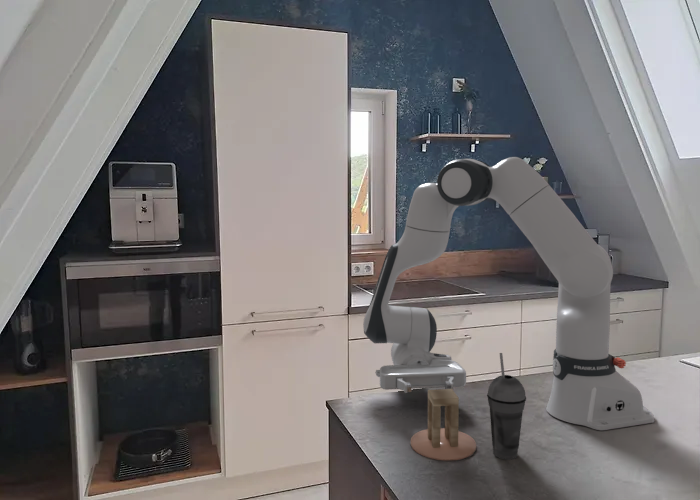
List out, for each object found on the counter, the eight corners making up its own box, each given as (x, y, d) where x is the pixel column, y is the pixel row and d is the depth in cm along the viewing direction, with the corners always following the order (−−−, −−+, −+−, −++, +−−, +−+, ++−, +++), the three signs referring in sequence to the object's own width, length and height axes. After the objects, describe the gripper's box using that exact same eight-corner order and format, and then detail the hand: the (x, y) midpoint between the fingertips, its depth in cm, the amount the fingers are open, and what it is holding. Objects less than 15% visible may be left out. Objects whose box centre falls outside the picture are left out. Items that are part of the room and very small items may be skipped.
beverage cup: (527, 464, 102) (529, 360, 100) (486, 461, 103) (488, 358, 101) (522, 446, 109) (525, 349, 107) (485, 443, 110) (486, 347, 108)
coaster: (464, 429, 117) (465, 426, 117) (485, 458, 104) (485, 455, 104) (405, 432, 116) (405, 429, 116) (418, 462, 103) (418, 459, 103)
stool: (451, 435, 113) (451, 388, 112) (458, 446, 108) (458, 397, 107) (427, 436, 112) (427, 389, 111) (433, 448, 107) (433, 398, 106)
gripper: (374, 357, 133) (382, 376, 119) (456, 354, 135) (473, 373, 121) (374, 382, 134) (382, 404, 120) (455, 379, 136) (473, 400, 122)
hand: (429, 388), depth 121 cm, fingers open, 8 cm apart
